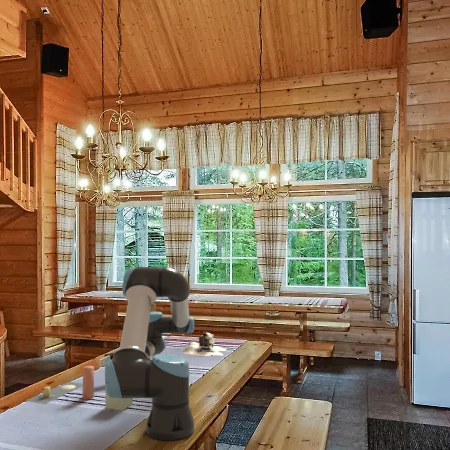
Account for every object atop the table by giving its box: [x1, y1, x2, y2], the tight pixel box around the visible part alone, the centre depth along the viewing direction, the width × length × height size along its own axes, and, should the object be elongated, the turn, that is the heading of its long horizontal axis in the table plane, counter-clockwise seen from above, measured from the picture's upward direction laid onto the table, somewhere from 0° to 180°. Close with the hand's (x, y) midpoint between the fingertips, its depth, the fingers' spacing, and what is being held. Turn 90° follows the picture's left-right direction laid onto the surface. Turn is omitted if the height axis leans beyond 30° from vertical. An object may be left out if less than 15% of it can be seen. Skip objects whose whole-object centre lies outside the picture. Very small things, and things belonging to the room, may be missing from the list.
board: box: [25, 381, 83, 405], centre depth 180 cm, size 24×9×4 cm, turn 160°
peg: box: [82, 365, 95, 401], centre depth 174 cm, size 4×4×12 cm
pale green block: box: [104, 391, 134, 412], centre depth 167 cm, size 7×7×11 cm
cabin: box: [180, 328, 227, 357], centre depth 250 cm, size 40×40×13 cm
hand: (114, 365), depth 182 cm, fingers open, 13 cm apart
